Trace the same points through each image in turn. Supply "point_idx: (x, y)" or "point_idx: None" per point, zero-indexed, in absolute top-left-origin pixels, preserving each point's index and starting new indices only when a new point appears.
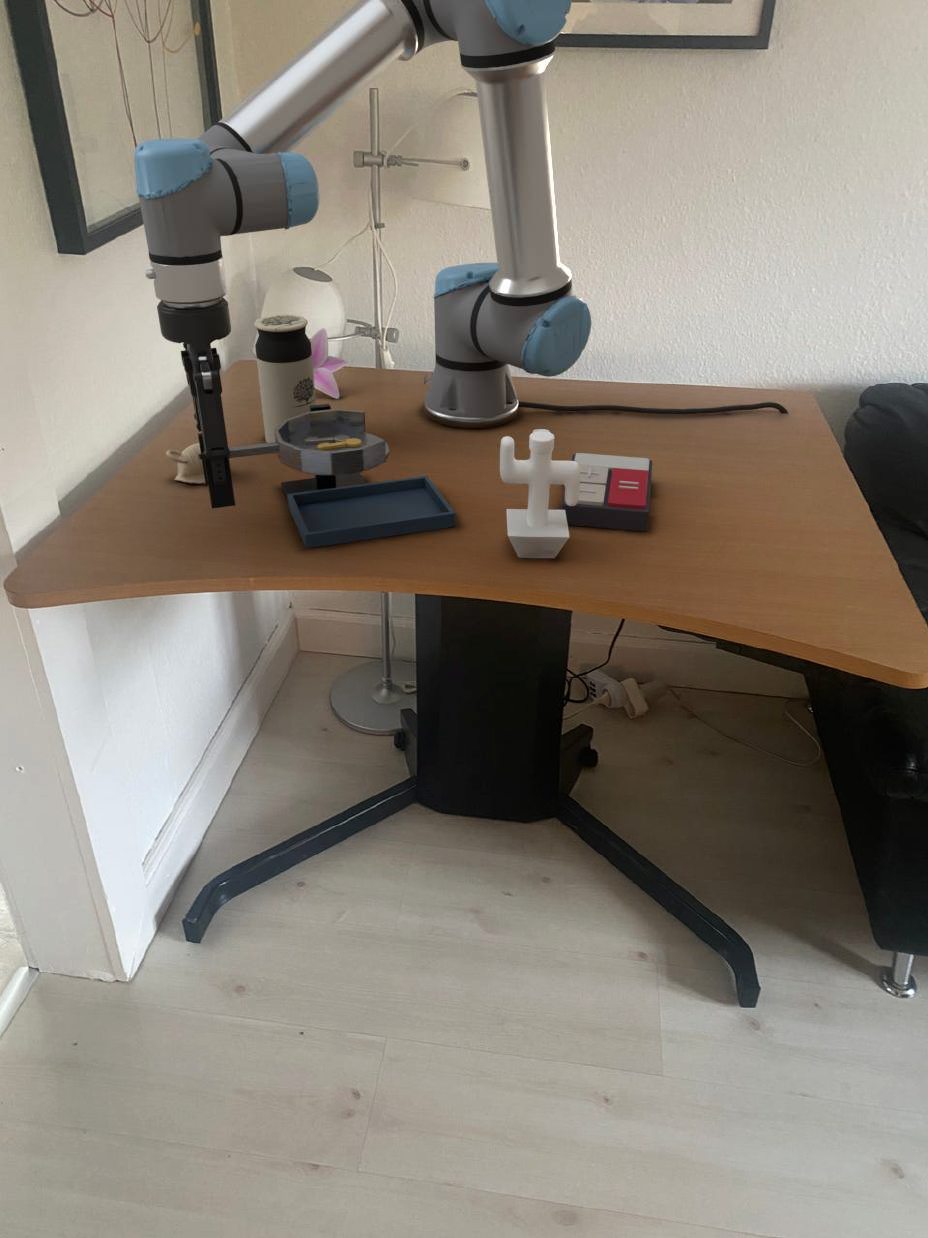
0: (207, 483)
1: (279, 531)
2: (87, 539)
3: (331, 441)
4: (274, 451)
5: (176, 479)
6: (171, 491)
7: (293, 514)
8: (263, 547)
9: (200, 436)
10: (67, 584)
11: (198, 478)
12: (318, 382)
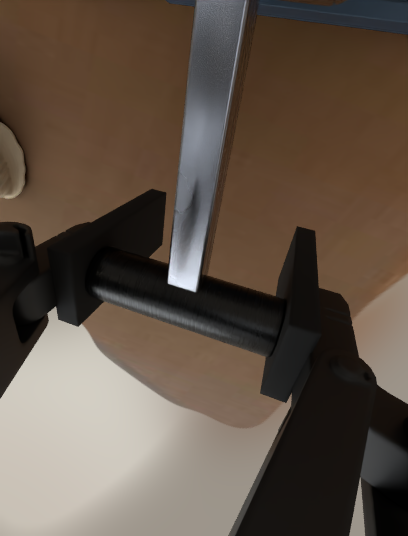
0: (160, 242)
1: (283, 79)
2: (159, 350)
3: None
4: (254, 16)
5: (10, 198)
6: (45, 216)
7: None
8: (336, 147)
9: (79, 319)
10: (262, 404)
11: (14, 167)
12: None
